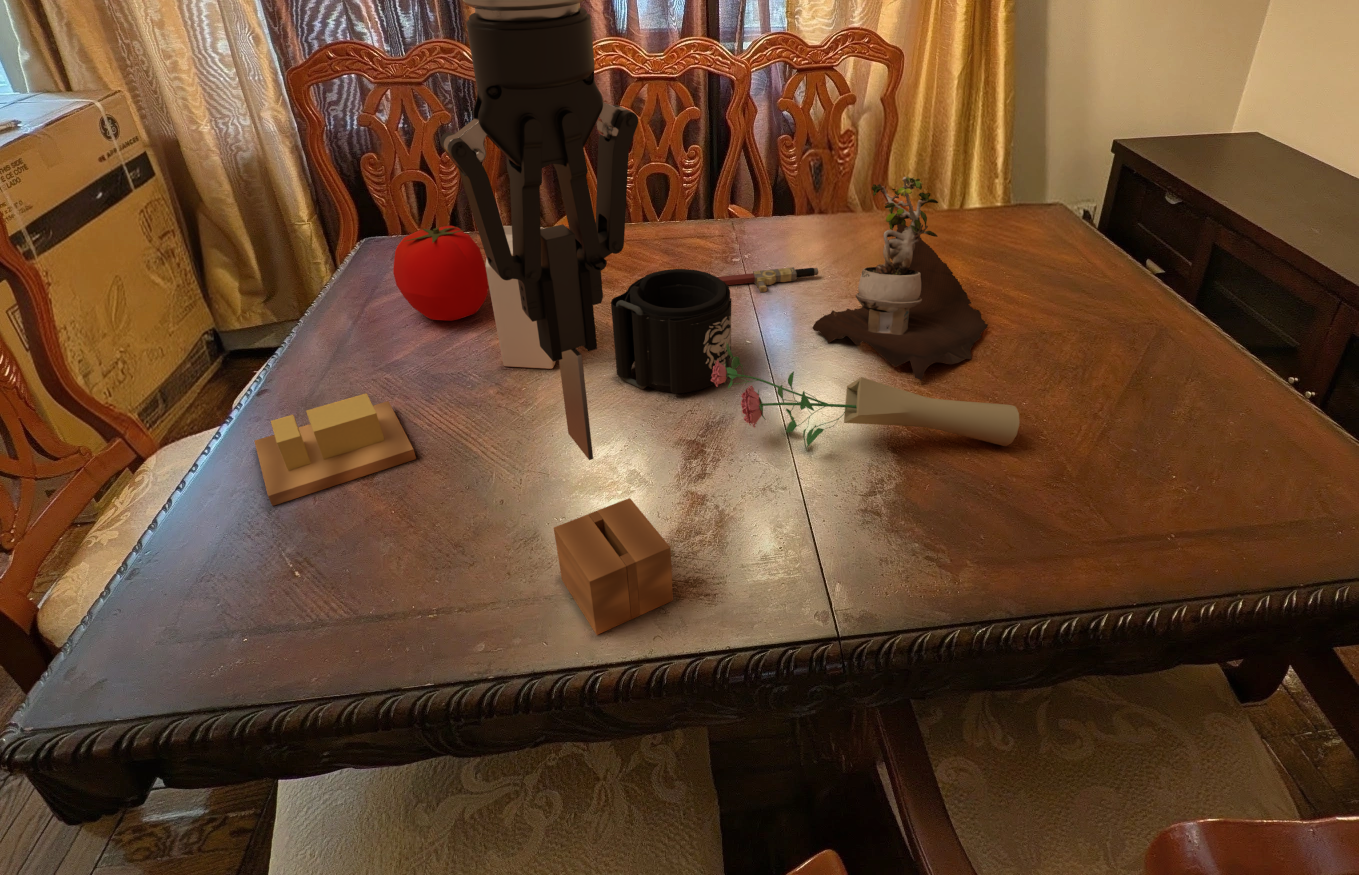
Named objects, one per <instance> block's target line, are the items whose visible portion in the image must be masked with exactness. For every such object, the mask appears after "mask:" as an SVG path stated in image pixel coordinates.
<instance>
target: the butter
mask: <svg viewBox="0 0 1359 875" xmlns="http://www.w3.org/2000/svg"><path fill="white" fill-rule="evenodd" d="M373 405H374V404H373V403H372V401H371V399H370V397H369V395H368V393H366V392H365V393H363V394H358V395H356V396H352V397H349V398H345V399H342V400H338V401H335V402H331V403H327V404H325V405H320V406H317V407H314V408H310V409H307V410H305V412H306V415H307V418H308V422H309V424H311V426H312V429H313V432H314V435H315V437H316V440H317V443H318V446H319V448H320V451H321V454H322V457H323V459H327V458H330V457H334V456H337V455H340V454H343V453H346V452H350V451H353V450H356V449H359V448H362V447H366V446H369V445H372V444H375V443H378V442H382V441H385V440H384V436H383V433H382V430H381V426H380V423H379V420H378V417H377V413H376V411H375V409H374V407H373Z"/></svg>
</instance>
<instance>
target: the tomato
mask: <svg viewBox="0 0 1359 875" xmlns="http://www.w3.org/2000/svg"><path fill="white" fill-rule="evenodd" d="M480 248H481V247H479V246H478V244H477V243H476V242H475V241H474V239H473V238H472V236H470V234H468V233H465V232H464V229H461V228H459V226H454V225H445V226H440V227H435V228H432V229H428V228H422V229H420V230H417V231H415V232H413V233H410V234H408V235H406V236H404V237H403V238H402V240H401V241H400V242H399V243H398V245H397V246H396V248H395V251H394V259H393V271H392V272H393V276H394V280H395V285H396V287H397V288H398V290H399V292H400V293H401V295H402V296H403V298H404V299H405V300H406V301H407V302H408V303H409V305H410V306H411V307H412V308H413V309H414V310H416V311H418V313H420V314H421V315H423V316H425V317H426V318H428V319H430V320H433V321H447V322H449V321H451V322H453V321H457V320H460V319H463V318H466V317H469V316H470V317H471V316H472V315H475V314H477V312H478V311H479V310H480V309H481V307H482V306H483V305H484V303H485V301H486V299H487V297H488V293H489V283H488V278H487V272H486V266H485V265H486V262H485V261H484V256H483V255H482V251H481V249H480Z"/></svg>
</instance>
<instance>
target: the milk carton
mask: <svg viewBox="0 0 1359 875" xmlns="http://www.w3.org/2000/svg"><path fill="white" fill-rule="evenodd" d="M503 228H504V231H505V235H506V238H507V241H508V245H509V248H510V252H511V255H512V256H513V242H512V225H503ZM540 229H544V226H540ZM485 267H486V272H487V279H488V287H489V288H488V290H489V294H490V300H491V305H492V310H493V315H494V322H495V327H496V332H497V338H498V345H499V350H500V356H501V361H502V365H503V367H509V368H511V367H512V368H513V367H514V368H531V369H548V370H549V369H550V370H551V369H553V368H554V366H555V365H556V363H557V361H554V362H553V361H552V360H551V358H550V357H549V356H548V355H547V354H546V353H545V352H544V350H543V349H542V348H541V347H540V342H539V335H538V328H537V321H534V322H532V321H531V320H530V318H529V317H528V316H527V315H526V314H525V312H524V311H523V309H522V304H521V296H520V291H519V284H518V279H511V280H503V279H502V278H501V277H500V276H499V275H498V274H497V273H496V272H495V271H494V270H493V269H492V267H491V266H490V265H489V263H488V260H487V257H486V259H485Z"/></svg>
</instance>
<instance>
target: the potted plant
mask: <svg viewBox="0 0 1359 875" xmlns="http://www.w3.org/2000/svg"><path fill="white" fill-rule="evenodd" d="M920 180H921V179H920V178H915V177H910V176H909V175H907V176H903V177H902V182H903V186H902V187H901V186H900V187H899V188H898V189H897V190H896V189H895V188H891V190H892V191H893V192H894V193H893V194H894V196H892V197H891V196H890V195H889V194H888V192H887V190H886V187H885V186H884V185H882V184H881V183H878V184H877V185H876V184H874V183H873V184H872V186H871V190H872V191H873V193H872V194H873V197H875V196H876V195H877V193H879V192H881V194H883V195H884V196H885V197H886V199H887V201H886V202H885V203H884V205H885V206H884V208H885V209H888V211H889V213H888V214H887V216H886V217H885V222H886V223H888V225H889V226H888V227H889V229H887V230H885V231H884V233H883V240H884V246H883V251H882V255H883V258H884V263H878V264H877V265H876V266H866V267H864V268H862V269H861V274H860V277H859V281H858V286H857V291H858V292H857V293H855V298H856V300H857V301H858V302H859V304H860V305H861V306H862V307H861V308H854V309H850V308H846V309H845V310H842V311H836V310H831V312H830V313H828V314H825V315H822V317H820V318H819V319H817V320H816V321H815V322H814V323H813V327H812V330H813V331H814V332H818V333H820V335H821V336H822V337H823V338H824V339H825V340H826V342H827V344H830V343H831V342H833V341H834V340H837V339H838V340H839V339H842V340H843V339H844V338H845V337H848V338H849V339H850V340H851V341H852V342H853V343H854V345H856V346H861V344H862V343H866V344H867V345H869V346H870V347H871V348H872V349H873V350H875V352H876V353H877V354H878V355H880V356H881V357H882V358H883V359H884V360H886V361H887V362H888V363H889V364H890V365H892V366H893V367H894V368H897V367H899V366H901V365H904V364H905V363H908V362H910V366H911V370H912V373H913V376H914V379H916V380H919V381H922V380H923V378H924V375H925V372H926V370H927V369H928V368H929V366H931V365H933V364H935V363H939V364H940V363H942V364H946V365H954V364H955V365H956V364H958V363H959V364H960V363H961V362H962V361H965V360H972V351H971V349H972V348H973V346H974V345H975V343H976V342H977V341H978V340H980V339H981V338H982V337H983V336H982V334H983V332H984V331H986V329H988V323H986V320H984V319H983V317H982V313H981V311H980V310H979V309H976V308H973V307H972V306H971V304H972V302H971V300H970V299H969V296H968V294H967V292H966V291H965V289H964V288H963V285H962V284H961V282H960V281H959V279H958V278H956V275H954V272H953V271H952V269H951V268H950V267H949V266H948V264H947V263H946V262H944V261H943V259H941V257H940V256H939V255H938V254H937V252H936V251H935V250H933V248H932V247H931V245H930V244H928V243H926V242H925V241H924V240H923V239H922V237H921V235H922V234H925V235H927V236H931V237H935V238H937V237H938V234H937V233H935V232H934V231H932V230H927V229H928V228H929V226H928V225H927V221H928V217H927V214H926V213H925V212H924V211H923V210H922V209H921V208H922V207H923V206H925V204H929V203H931V204H938V203H939V201H938V200H936V199H934V198H930V197H931V194H932V193H931V192H927V193H925V192H919V193H918V196H919V199H918V200H917V202H916V204H917V205H916V210H914V205H913V204H912V201H911V199H910V195H911V194H913V191H912V190H914V189H919V190H922V189H923V185H924V183H923V182H922V181H920ZM900 196H901V197H903V198H905V200H906V201H905V202H906V203H905V202H904V201H903V200H900V201H899V200H898V202H897V203H895V201H894V200H895V199H899V198H900ZM903 207H905V208H906V207H908V211H907V210H906V209H905V208H903ZM895 208H897V210H896V213H895V212H894V209H895ZM920 217H921V219H922V221H923V223H924V224H922V222H921V219H920ZM908 219H909V220H911V222H910V224H909V226H908V225H907V220H908ZM895 226H896V228H897V229H896V230H894V228H895ZM923 227H924V229H923ZM891 237H892V238H891ZM888 238H890V239H888Z"/></svg>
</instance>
